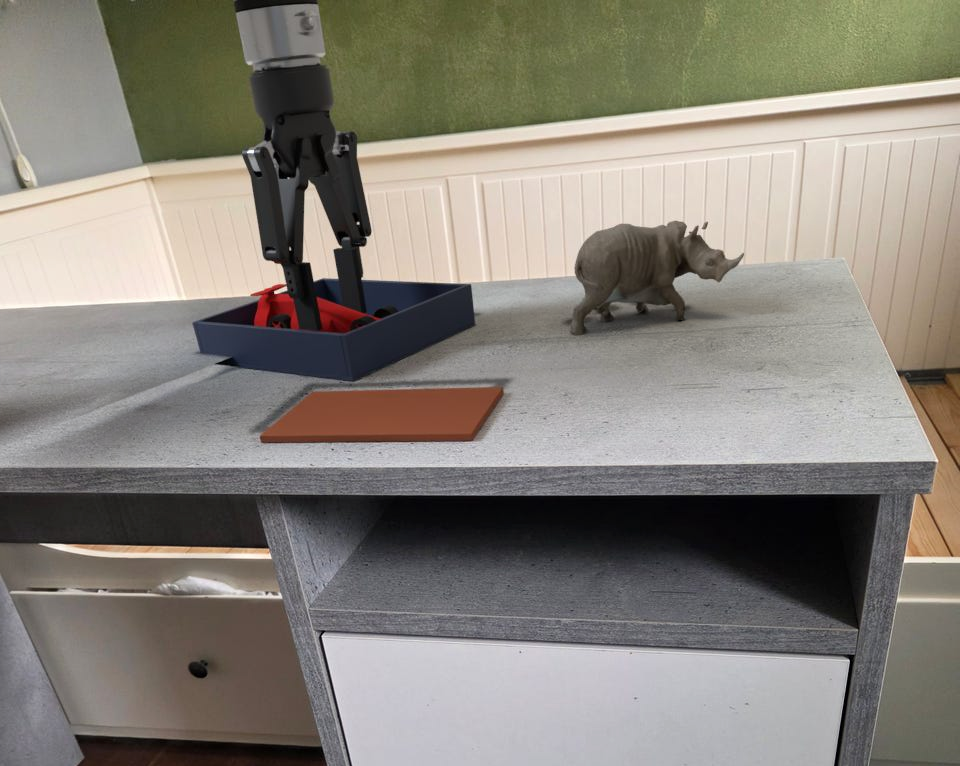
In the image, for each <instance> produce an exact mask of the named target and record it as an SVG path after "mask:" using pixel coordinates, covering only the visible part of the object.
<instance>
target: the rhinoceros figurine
mask: <svg viewBox="0 0 960 766" xmlns="http://www.w3.org/2000/svg"><path fill="white" fill-rule="evenodd" d="M708 224H709V222H708V221H705V222H704V223H703V225H702V227H701V230H706V229H707V228H708ZM699 227H700V226H699V225H697V224H696V225H695V226H694V228H693V230H691V231H688V233H689V234H688V235H686V232H687V228H688V226H687V224H686V222H684V221H679V220H672V221H668V223H667V224H666V225H664V224H660V225H658V226H654V227H648V226H638V225H633V224H632V223H619V224H616V225H614V226H612V227H609V228H605V229H601V230H597V231H595V232H593V233H592V234H591V235H590V236H588V238H586V239H585V240H584V241H583V243H582V244H581V247H580V248H579V250H578V252H577V255H576V258H575V263H574V268H573V269H574V275H575V278H576V279H577V280H578V282H580V283H581V285H582V287H583V290H584V297H583V298H582V299H581V301H580V302H578V304H576V305H575V307H574V309H573V314H572V319H571V320H572V321H571V322H570V324H569V328H570V330H569V331H570V333H572V334H573V335H576V336H577V335H584V334H586V333H588V332H589V331H588V329H587V327H586V325H585V319H586V317H587V316H589V315H591V313H592V312H593V311H596V313H598V314H599V321H602V322H605V323H606V322H609V323H611V321H612V319H615V316H614V314H613V312H612V311H611V310H610V307H611V304H613V303H622V304H635V303H636V304H635V309H636V313H635V314H636V315H637V314H647V313H646V312H648V313H650V310H649V308H648V305H647V304H649V305H653V306H662V307H663V306H667V305H672V306H673V307H674V308H675V311H676V317H675V320H676V321H677V320H682V321H684V320H686V319H685V318H686V317H685V310H686V303H685V300H684V298H683V296H681V294H680V293H679V292H678V291H677V289H676V288H675V286H674V281H675V279H677V278H679V277H682V276H684V275H686V274H689V273H690V274H691V273H692V274H694V275H697V276H698V277H699V278H700V279H701V280H714V281H716V282H717V283H721V281H722V280H723V278H724V277H725V275H726V274H728V273H729V272H730V271H731V270H733V269H735V268H737V266H739V264H740V263H741V261H742V260H743V258H744V256H745V252H742V253H741V254H740V255H738V256H737V257H736V258H733V259H729V258H726V255H725V252H724V250H722V249H719V248H718V249H715V248H712V247H710V246H709V244H707V242H706V241H705V239H704V238H703V237H702V235H701V234H698V231H699ZM685 235H686V236H685ZM683 319H684V320H683Z"/></svg>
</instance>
